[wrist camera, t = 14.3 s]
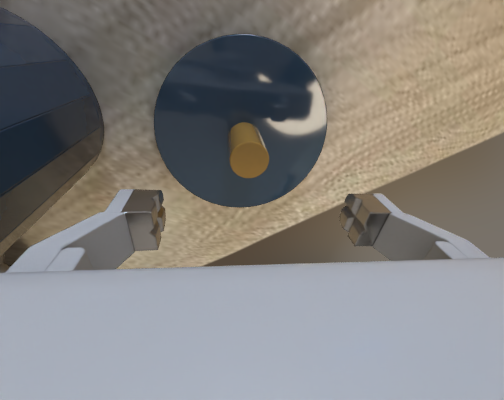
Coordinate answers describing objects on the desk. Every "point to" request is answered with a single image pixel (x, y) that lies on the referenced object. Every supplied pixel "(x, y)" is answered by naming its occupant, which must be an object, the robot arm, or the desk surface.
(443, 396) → the robot arm
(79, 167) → the canister
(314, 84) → the lid
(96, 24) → the desk surface
